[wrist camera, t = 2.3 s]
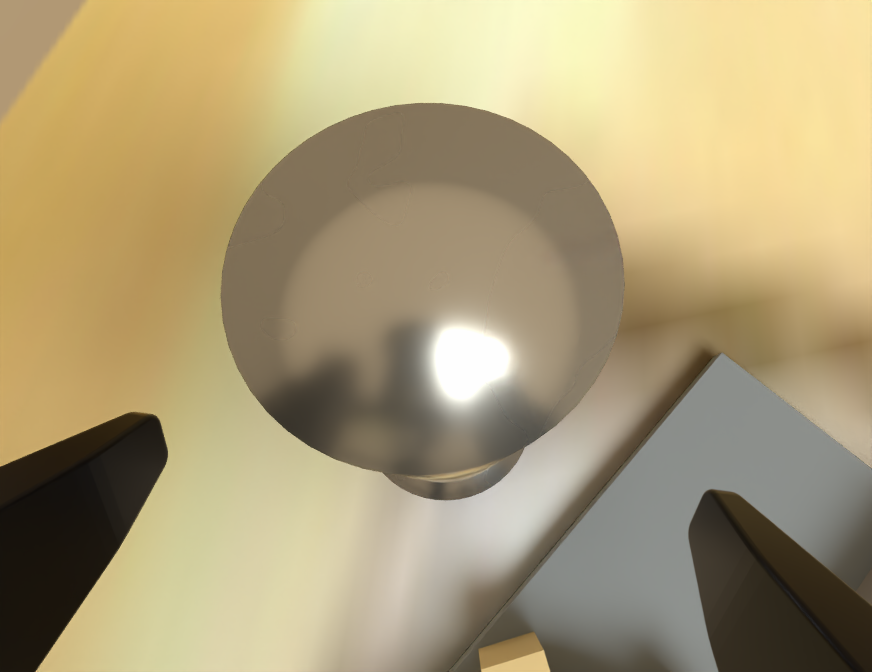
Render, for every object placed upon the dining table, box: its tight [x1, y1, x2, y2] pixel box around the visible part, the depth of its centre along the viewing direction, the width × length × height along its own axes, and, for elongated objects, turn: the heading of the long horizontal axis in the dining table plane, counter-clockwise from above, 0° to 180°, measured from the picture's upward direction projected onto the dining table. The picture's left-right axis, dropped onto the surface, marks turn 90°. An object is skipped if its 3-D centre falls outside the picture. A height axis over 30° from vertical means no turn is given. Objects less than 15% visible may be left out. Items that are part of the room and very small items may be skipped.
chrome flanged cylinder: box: [221, 103, 625, 500], centre depth 12 cm, size 5×5×13 cm
